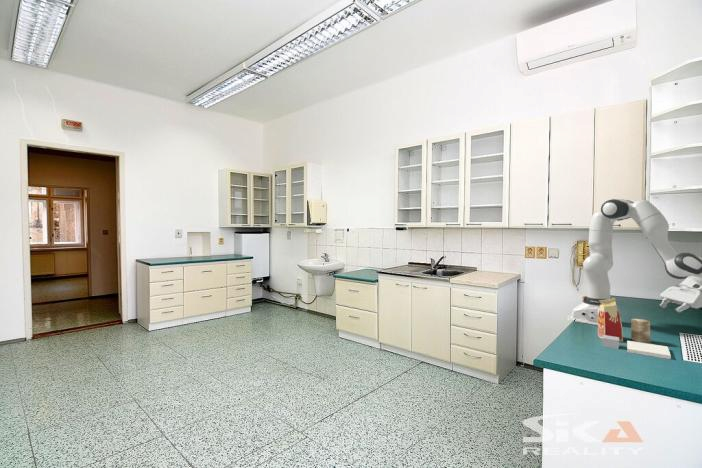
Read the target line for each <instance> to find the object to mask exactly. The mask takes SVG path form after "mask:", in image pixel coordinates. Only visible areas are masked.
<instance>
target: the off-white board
mask: <svg viewBox="0 0 702 468" xmlns="http://www.w3.org/2000/svg"><path fill="white" fill-rule="evenodd" d="M626 344H627V345H626V349H627V350H626V352H627V353H629V354H631V353H632V354H637V355H643V356H648V357H649V356H650V357H655V358H661V359H668V360H671V359H672V355H671V352H670V350H669V347H668V346H665V345H661V344H659V345H658V344H653V343H640V342H636V341H634V340H632V341H631V340H627V341H626Z"/></svg>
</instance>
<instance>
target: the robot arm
mask: <svg viewBox="0 0 702 468" xmlns="http://www.w3.org/2000/svg"><path fill="white" fill-rule="evenodd" d="M628 219H632V220H633V221H634V222H635V223H636V225H637V226H638V228H640V230H641V231H642V232H643V234H644V235H645V236H646V238H648V240H649V242H650V243H651V245H652V246H653V248H654V249H655V251H656V252H657V254H658V256H659V257H660V258H661V260H662V261H663V263H664V269H665V272H666V274H667V275H668V276H669V277H671V278H673V279H676V280H682V282H680V283H679V284H678V285H677V284H676V285H674V286H669V287H667V288H666V289H665V290H664V291H662V292H661V293H660V294H659V297H660V298H661V299H662V301H661V303H659V306H660V308H661V309H662V308H663V309H665V308H666V307H668V304H669V303H672V304H673V303H674V304H677V305H680V306H677V307H676V308H675V309H674V310H675V312H677V313H682V311H685V310H688V309H689V308H693V309H700V308H702V257H700V256H697V255H695V254H694V253H690V252H682V253H679V254H678V253H677V252H676V250H675V249H674V248H673V247H672V245H671V244H670V241H669V238H668V234H669V228H670V226H669V225H670V223H668V220H667V218H666V216H665V215H664V214H663V213H662V212H661V211H660V209H658V208H657V207H656V206H655V205H654V204H653V203H652V202H650V201H648V199H647V200H646V199H641V200H640V199H639V200H636V201H635V202H634V201H631V200H629V199H624V198H623V199H622V198H619V199H613V198H612V199H608V200H606V201H604V202H603V203H602V204H601V206H600V211H596V212H594V213H593V214H592V216H591V219H590V223H589V227H588V228H589V230H588V243H587V245H588V246H589V255H588V256H587V257H586V258H585V259H584V261H583V262H582V265H583V266H582V267H583V269H584V275H585V281H586V295H583V296H582V302H581V303H580V304H578V305H576V306H575V307H573V308H572V310H571V313H570V314H569V315H567V317H566V319H567V320H568V321H570V322H571V321H572V322H576V323H582V324H583V323H584V324H589V325H595V326H598V314H599V308H600V301H598V300H608V299H612V298H611V283H610V278H609V274H608V273H609V272H610V271H611V269H612V268H613V267H614V266H613V265H614V261H613V260H614V258H613V256H614V255H613V233H614V232H613V231H614V224H615V222H616V221H617V222H619V221H623V220H628ZM575 319H576V320H575ZM574 320H575V321H574Z"/></svg>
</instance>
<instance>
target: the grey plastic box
mask: <svg viewBox="0 0 702 468" xmlns="http://www.w3.org/2000/svg"><path fill="white" fill-rule="evenodd" d="M601 346H602V347H604V348H605V347H606V348H610V349H616V350H619V349H620V348H619V347H620V341H619V337H614V336H607V335H603V337H602V338H601Z"/></svg>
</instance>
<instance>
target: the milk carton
mask: <svg viewBox="0 0 702 468" xmlns="http://www.w3.org/2000/svg"><path fill="white" fill-rule="evenodd" d="M598 301H600V308H599V314H598V325H597V336H598V338H599V339H602V337H603V335H607V336H614V337H619V342H624V330H623V329H624V328H623V325H622V318H621V315H620V311H619V309H618V305H617V303H616V297H612V298H611V299H608V300H598Z"/></svg>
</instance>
